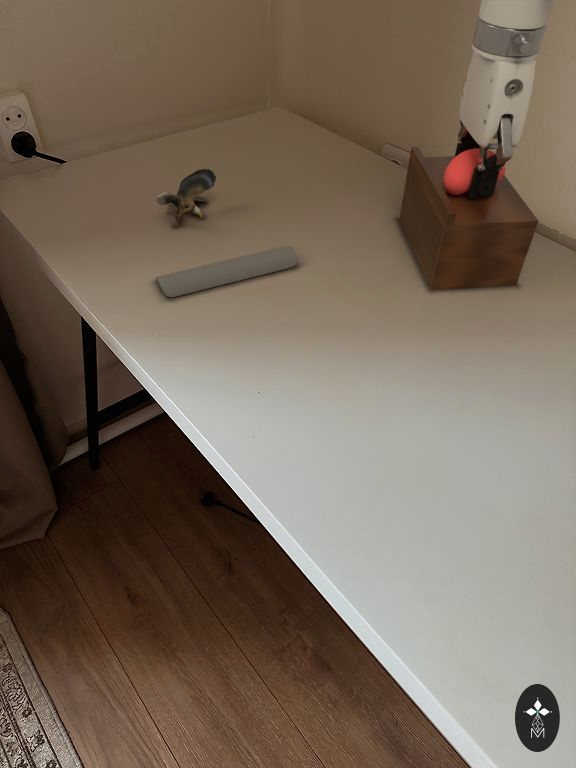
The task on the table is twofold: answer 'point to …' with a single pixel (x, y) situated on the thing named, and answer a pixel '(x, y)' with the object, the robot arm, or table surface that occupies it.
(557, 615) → the table surface
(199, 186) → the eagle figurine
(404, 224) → the wooden box with backboard
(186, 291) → the gray half cylinder
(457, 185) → the stress ball
